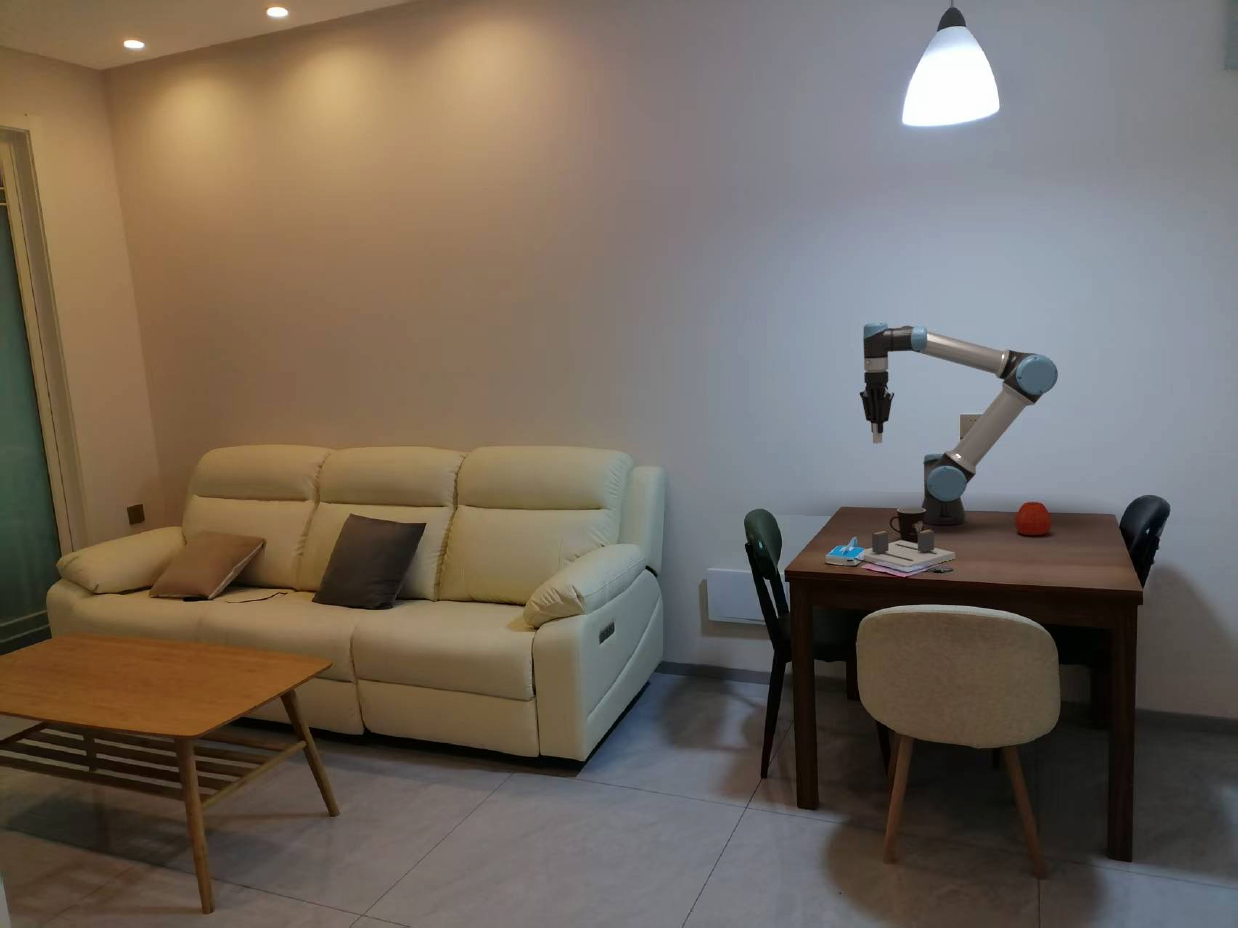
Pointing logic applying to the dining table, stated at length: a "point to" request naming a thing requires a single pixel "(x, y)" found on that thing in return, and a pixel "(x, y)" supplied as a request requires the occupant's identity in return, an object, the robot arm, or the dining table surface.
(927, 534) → the block
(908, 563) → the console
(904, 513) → the coffee mug
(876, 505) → the dining table surface
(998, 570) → the dining table surface
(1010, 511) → the dining table surface
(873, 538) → the block
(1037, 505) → the apple
